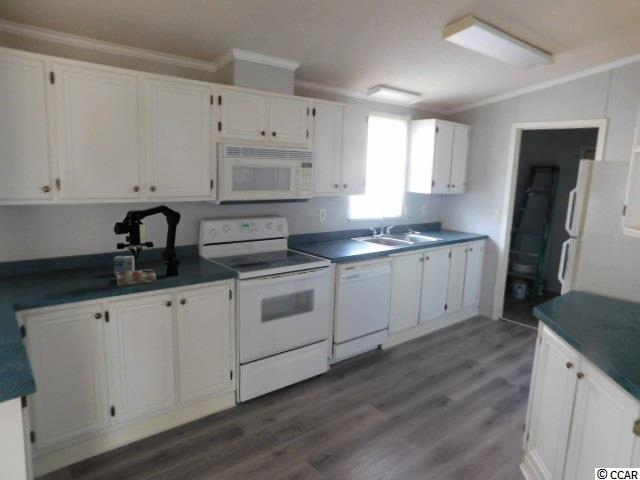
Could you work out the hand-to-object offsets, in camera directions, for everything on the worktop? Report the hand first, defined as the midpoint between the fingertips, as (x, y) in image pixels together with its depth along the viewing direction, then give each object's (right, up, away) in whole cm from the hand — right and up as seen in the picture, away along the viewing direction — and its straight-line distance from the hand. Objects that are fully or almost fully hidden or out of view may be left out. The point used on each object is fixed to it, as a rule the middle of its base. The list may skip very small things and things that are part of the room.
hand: (135, 260), depth 230 cm
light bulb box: (-16, -10, +20) cm, 28 cm away
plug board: (-2, -12, +5) cm, 14 cm away
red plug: (0, -11, +2) cm, 12 cm away
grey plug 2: (+1, -11, +12) cm, 16 cm away
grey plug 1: (-9, -11, +6) cm, 16 cm away
